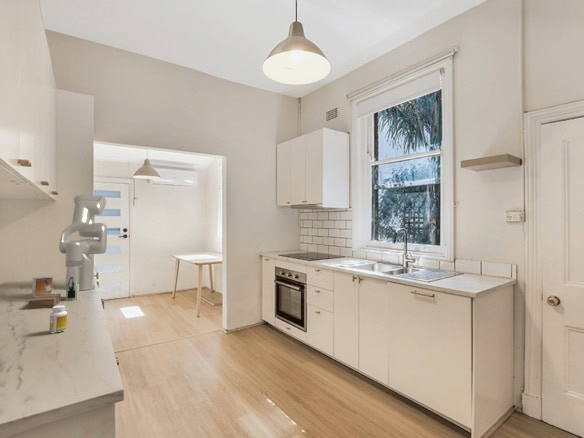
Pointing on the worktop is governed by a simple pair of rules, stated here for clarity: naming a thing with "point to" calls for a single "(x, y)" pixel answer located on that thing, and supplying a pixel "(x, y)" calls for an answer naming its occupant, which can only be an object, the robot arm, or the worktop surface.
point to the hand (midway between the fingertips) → (72, 296)
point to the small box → (42, 286)
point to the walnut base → (44, 301)
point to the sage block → (75, 292)
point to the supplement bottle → (58, 319)
